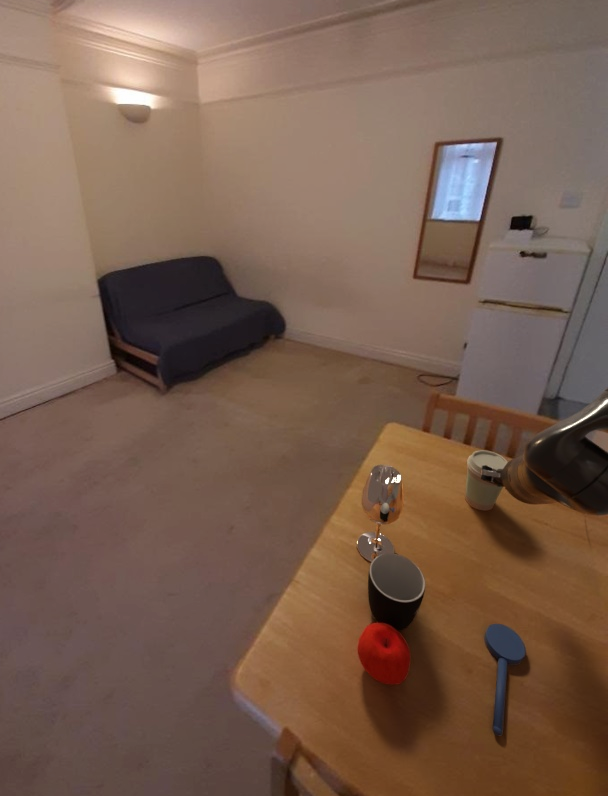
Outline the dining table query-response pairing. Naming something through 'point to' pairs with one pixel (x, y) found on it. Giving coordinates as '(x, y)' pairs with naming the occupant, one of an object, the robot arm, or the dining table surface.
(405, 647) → the apple
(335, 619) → the dining table surface
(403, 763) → the dining table surface
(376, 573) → the mug
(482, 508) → the coffee cup
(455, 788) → the dining table surface
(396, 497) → the wineglass
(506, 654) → the blue spoon
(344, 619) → the dining table surface
